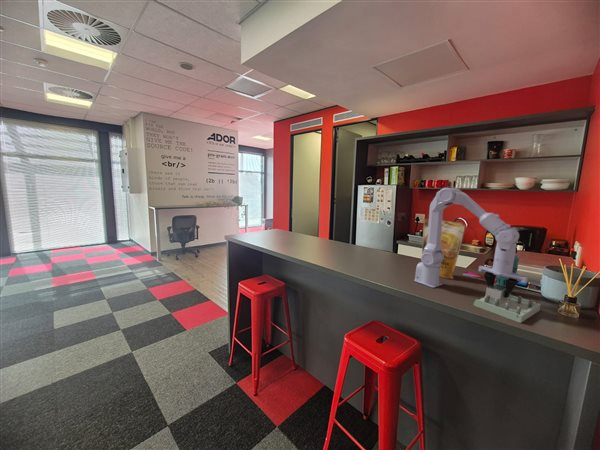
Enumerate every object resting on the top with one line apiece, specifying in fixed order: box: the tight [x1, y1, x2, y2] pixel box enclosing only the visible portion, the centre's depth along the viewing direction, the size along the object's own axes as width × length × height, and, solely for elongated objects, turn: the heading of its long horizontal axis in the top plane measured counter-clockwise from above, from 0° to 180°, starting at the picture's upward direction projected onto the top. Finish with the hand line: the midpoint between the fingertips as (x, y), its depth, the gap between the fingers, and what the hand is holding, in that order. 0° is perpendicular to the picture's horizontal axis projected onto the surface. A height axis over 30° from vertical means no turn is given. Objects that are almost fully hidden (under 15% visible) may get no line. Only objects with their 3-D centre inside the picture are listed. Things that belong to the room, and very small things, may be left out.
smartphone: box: [462, 271, 497, 284], centre depth 125 cm, size 7×1×15 cm
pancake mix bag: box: [421, 218, 466, 280], centre depth 126 cm, size 7×19×28 cm, turn 38°
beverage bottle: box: [495, 247, 520, 292], centre depth 107 cm, size 6×7×20 cm
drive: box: [484, 283, 510, 306], centre depth 95 cm, size 5×9×6 cm, turn 122°
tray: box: [473, 292, 542, 324], centre depth 93 cm, size 14×18×4 cm
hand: (498, 294), depth 95 cm, fingers closed on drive, 4 cm apart
